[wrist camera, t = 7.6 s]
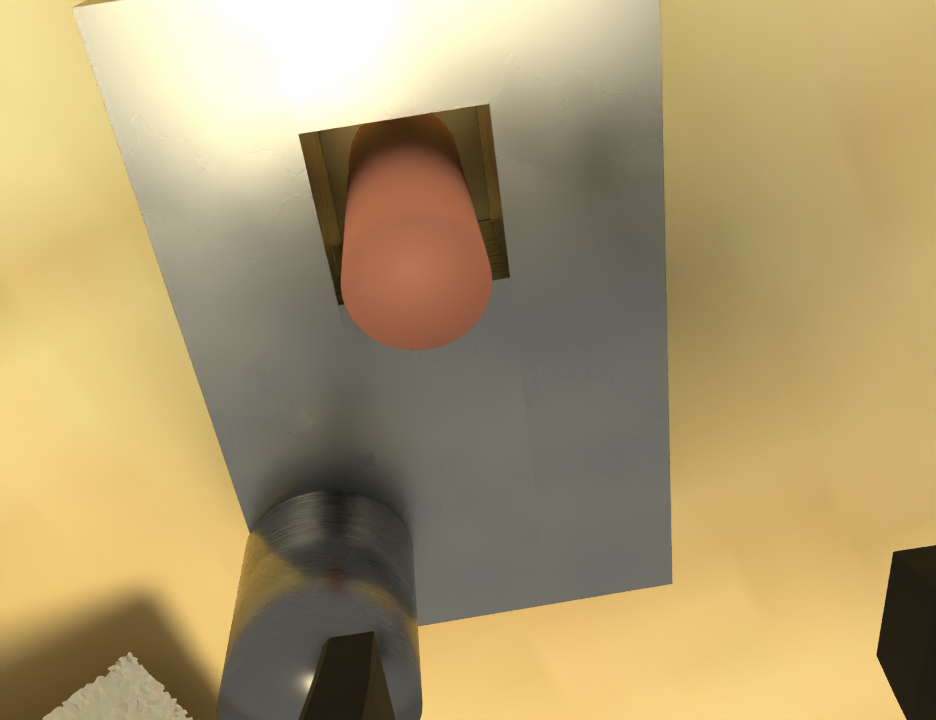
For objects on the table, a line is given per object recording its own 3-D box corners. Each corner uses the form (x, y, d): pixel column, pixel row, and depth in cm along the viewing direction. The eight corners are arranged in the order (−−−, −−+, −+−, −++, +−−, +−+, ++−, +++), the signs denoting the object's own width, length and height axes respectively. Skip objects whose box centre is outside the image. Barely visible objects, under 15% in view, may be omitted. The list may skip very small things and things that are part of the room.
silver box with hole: (612, -94, 16) (757, -63, 10) (638, 501, 23) (733, 731, 17) (104, -15, 16) (-61, 65, 10) (286, 560, 23) (256, 812, 17)
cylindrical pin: (469, 195, 19) (507, 328, 13) (369, 224, 19) (367, 367, 13) (441, 93, 17) (470, 194, 12) (335, 123, 18) (318, 237, 12)
